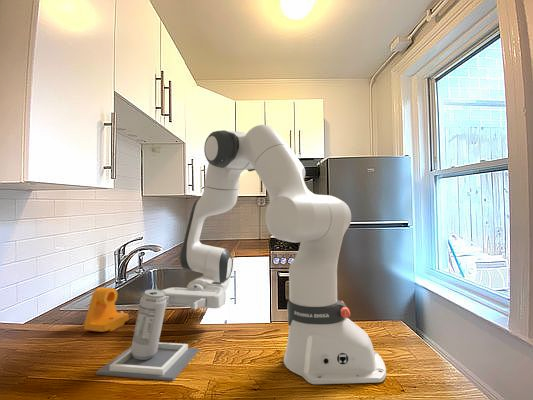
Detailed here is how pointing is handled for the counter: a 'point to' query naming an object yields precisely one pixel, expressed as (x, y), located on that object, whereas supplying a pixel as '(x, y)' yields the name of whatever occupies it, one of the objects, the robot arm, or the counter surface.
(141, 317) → the energy drink can
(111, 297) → the bracket
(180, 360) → the framed grey tray
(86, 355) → the counter surface
